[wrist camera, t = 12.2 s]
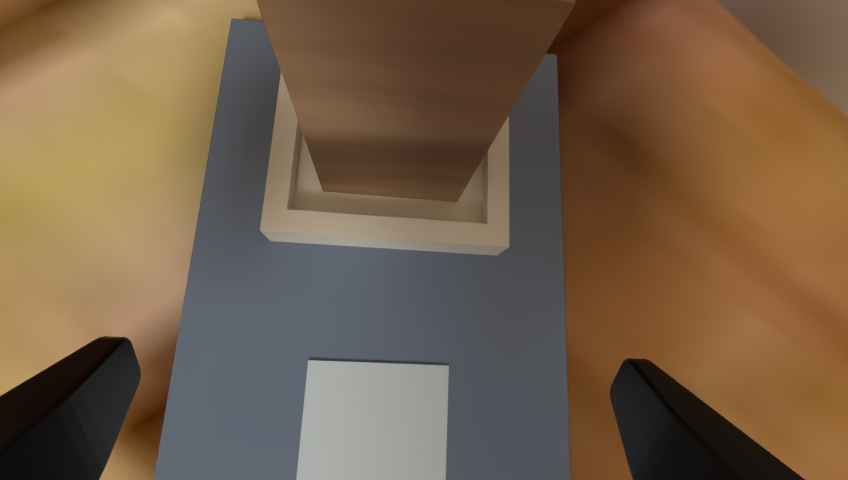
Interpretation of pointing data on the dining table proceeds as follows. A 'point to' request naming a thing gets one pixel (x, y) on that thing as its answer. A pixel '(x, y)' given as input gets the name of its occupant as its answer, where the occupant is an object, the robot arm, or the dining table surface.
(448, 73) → the pillar
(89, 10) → the dining table surface
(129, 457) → the dining table surface
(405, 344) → the board
